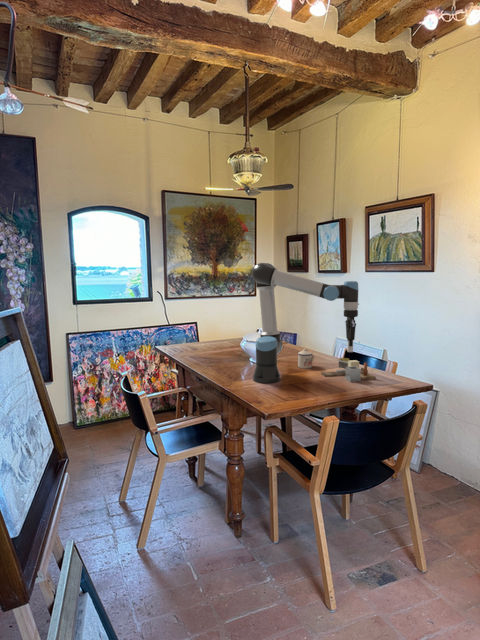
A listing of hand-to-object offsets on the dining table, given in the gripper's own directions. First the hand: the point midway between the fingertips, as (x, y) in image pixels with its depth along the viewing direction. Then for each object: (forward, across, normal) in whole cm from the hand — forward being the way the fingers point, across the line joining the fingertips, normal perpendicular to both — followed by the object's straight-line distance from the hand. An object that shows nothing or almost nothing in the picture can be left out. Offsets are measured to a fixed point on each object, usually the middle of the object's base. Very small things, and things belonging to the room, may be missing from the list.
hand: (350, 351), depth 215 cm
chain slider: (+14, +9, -1) cm, 17 cm away
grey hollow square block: (+15, -4, -1) cm, 16 cm away
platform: (+16, +24, -4) cm, 29 cm away
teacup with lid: (+15, +28, +20) cm, 37 cm away
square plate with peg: (+15, +1, -9) cm, 18 cm away
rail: (+15, +9, +1) cm, 18 cm away
